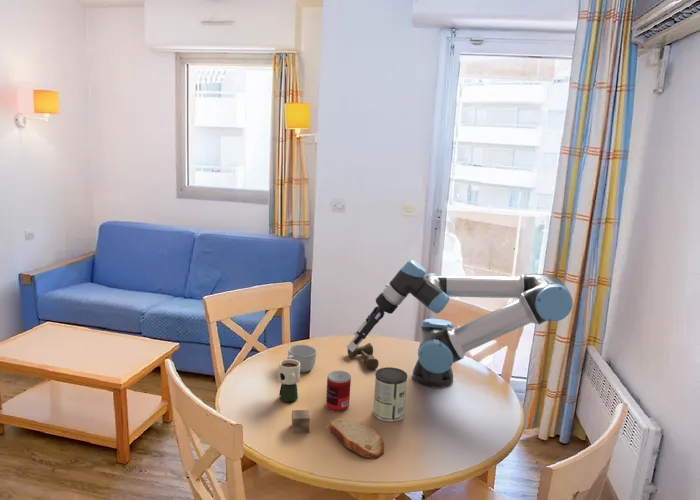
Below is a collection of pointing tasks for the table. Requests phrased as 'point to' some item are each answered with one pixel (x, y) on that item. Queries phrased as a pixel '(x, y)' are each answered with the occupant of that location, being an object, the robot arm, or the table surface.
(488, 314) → the robot arm
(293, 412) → the metal block
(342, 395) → the canned food
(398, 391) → the coffee can
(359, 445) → the slice of bread
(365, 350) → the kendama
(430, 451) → the table surface
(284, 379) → the character mug
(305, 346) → the teacup
